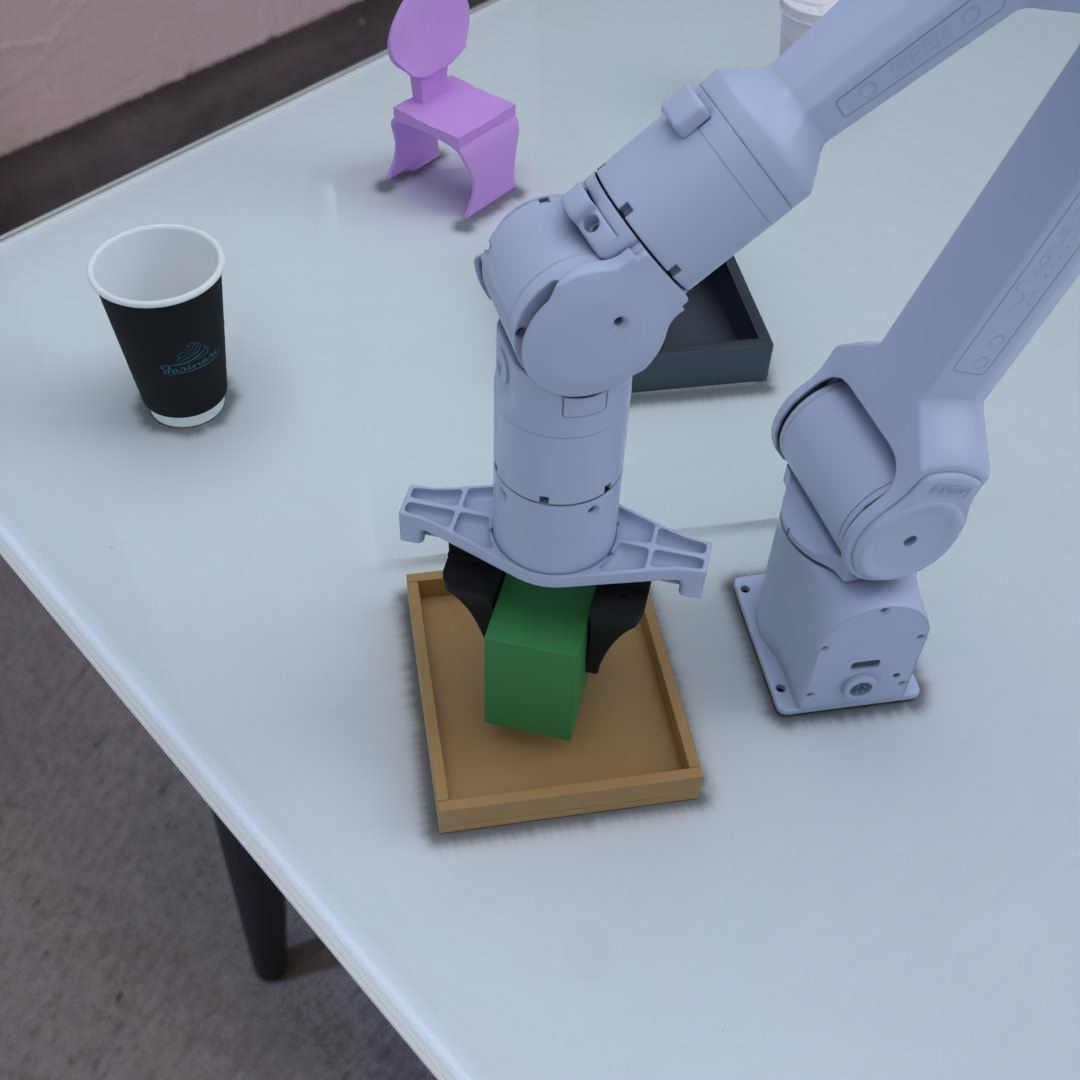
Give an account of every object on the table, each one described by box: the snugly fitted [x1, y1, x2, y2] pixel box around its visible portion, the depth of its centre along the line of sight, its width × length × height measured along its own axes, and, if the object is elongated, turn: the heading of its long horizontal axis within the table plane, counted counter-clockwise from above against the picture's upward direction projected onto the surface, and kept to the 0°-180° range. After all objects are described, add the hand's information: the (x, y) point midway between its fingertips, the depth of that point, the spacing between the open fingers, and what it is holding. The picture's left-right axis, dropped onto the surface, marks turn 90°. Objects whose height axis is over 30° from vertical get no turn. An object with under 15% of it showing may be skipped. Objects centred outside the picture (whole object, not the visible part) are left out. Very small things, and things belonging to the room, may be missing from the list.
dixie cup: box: [86, 223, 228, 428], centre depth 81 cm, size 8×8×11 cm
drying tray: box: [405, 570, 704, 834], centre depth 70 cm, size 15×13×2 cm
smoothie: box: [777, 0, 839, 58], centre depth 107 cm, size 6×6×14 cm
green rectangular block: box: [484, 573, 596, 741], centre depth 66 cm, size 4×8×7 cm, turn 167°
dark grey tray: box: [631, 255, 775, 394], centre depth 90 cm, size 16×14×4 cm
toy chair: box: [386, 0, 520, 219], centre depth 96 cm, size 8×9×15 cm
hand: (547, 648), depth 68 cm, fingers closed on green rectangular block, 4 cm apart
